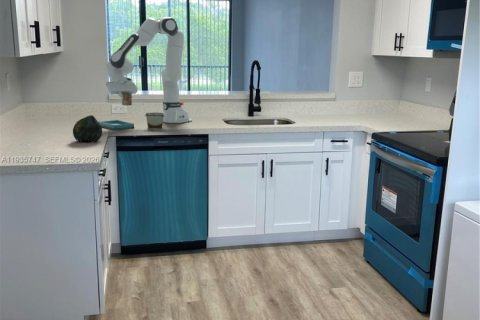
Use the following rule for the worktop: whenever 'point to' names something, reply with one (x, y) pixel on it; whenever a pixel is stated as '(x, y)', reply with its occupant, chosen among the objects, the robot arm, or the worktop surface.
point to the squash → (87, 129)
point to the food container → (154, 120)
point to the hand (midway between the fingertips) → (127, 98)
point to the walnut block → (127, 99)
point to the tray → (116, 124)
